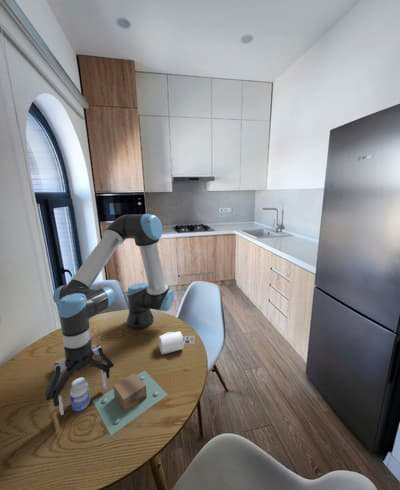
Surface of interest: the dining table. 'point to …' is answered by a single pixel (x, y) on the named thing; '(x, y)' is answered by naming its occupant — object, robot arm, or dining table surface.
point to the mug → (171, 342)
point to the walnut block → (130, 392)
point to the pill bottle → (79, 394)
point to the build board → (116, 416)
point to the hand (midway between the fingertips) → (84, 398)
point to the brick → (95, 356)
